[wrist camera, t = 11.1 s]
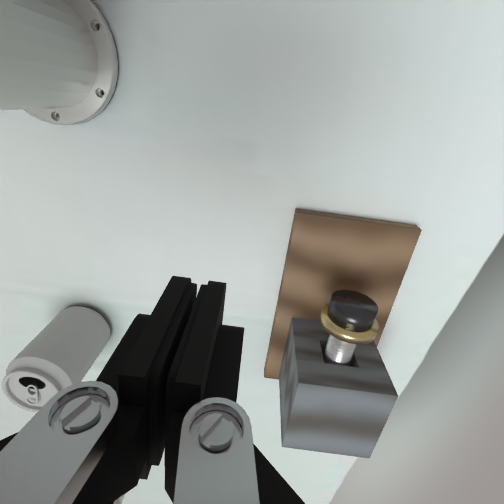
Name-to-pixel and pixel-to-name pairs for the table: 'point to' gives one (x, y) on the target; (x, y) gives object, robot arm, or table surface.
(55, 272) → the table surface
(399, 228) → the block
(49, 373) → the can
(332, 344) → the shaft
